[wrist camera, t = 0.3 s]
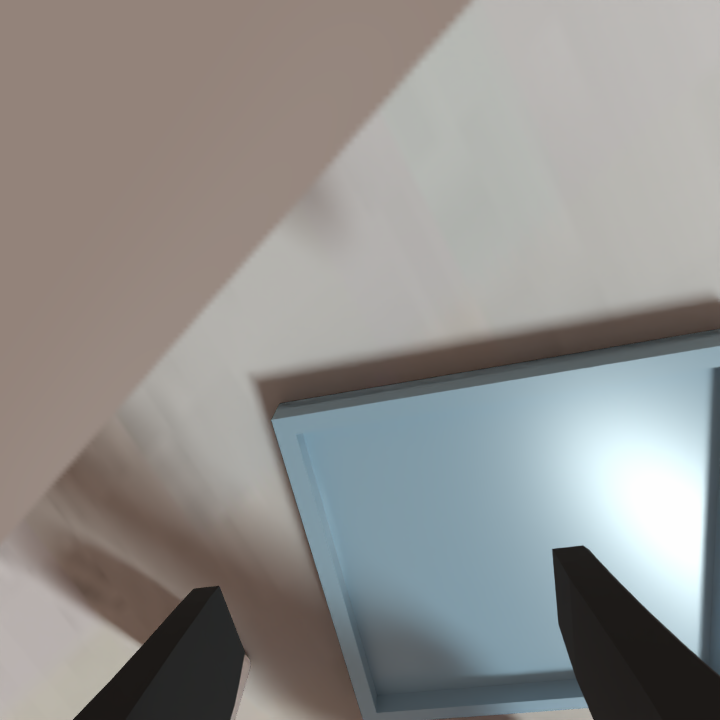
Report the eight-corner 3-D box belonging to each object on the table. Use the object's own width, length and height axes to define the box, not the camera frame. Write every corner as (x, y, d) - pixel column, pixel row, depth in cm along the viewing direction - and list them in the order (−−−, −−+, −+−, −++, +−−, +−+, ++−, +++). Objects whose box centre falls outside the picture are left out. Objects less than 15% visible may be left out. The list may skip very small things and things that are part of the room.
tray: (717, 665, 23) (738, 696, 22) (366, 695, 26) (364, 724, 24) (737, 325, 18) (768, 337, 16) (279, 403, 20) (271, 419, 19)
